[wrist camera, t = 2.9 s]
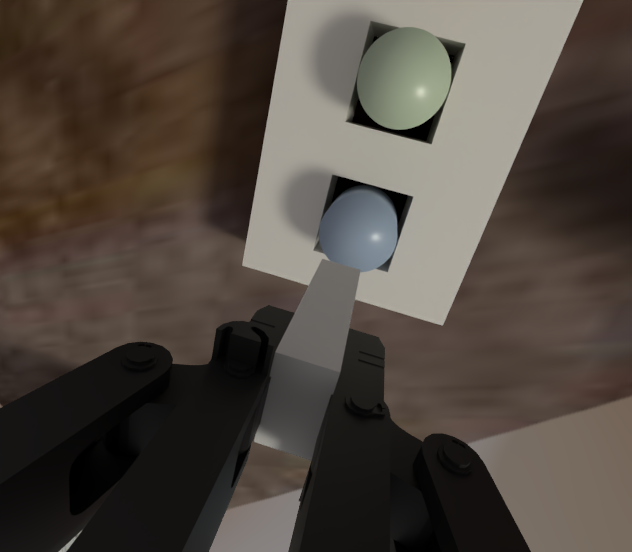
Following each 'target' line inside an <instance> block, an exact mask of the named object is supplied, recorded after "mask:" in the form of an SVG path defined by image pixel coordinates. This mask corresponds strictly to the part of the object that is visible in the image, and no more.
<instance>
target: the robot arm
mask: <svg viewBox="0 0 632 552" xmlns="http://www.w3.org/2000/svg"><path fill="white" fill-rule="evenodd" d="M360 271H361V270H359V269H356V268H353V267H349V266H346V265H342V264H339V263H335V262H332V261H328V260H325V259H322V260H321V262H320V264H319V266H318V268H317V270H316V272H315V274H314V276H313V278H312V280H311V282H310V284H309V286H308V288H307V290H306V292H305V294H304V296H303V298H302V300H301V302H300V304H299V306H298V308H297V310H296V312H295V313H293V312H289V311H286V310H283V309H279V308H276V307H273V306H269V305H268V306H266V307H264V308H262V309H260V310H258V311H257V312H256V313H255V315H254V316H253V317H252V319H251V321H250V322H245V321H232V322H229V323H225V324H222V325H221V326H220V327H218V328H217V329H216V335H215V341H214V348H213V354H212V359H211V361H210V362H209V363H208V364H205V365H181V364H172V361H173V358H172V356H171V354H170V352H169V351H168V350H167V349H165V348H164V347H163V346H160V345H157V344H154V343H148V342H135V343H127V344H125V345H122V346H119V347H117V348H115V349H113V350H111V351H109V352H107V353H105V354H103V355H101V356H99V357H97V358H95V359H94V360H92V361H90V362H88V363H86V364H84V365H82V366H80V367H78V368H76V369H74V370H73V371H71V372H69V373H67V374H65V375H63V376H61V377H59V378H57V379H55V380H53V381H51V382H50V383H48V384H46V385H44V386H42V387H40V388H38V389H36V390H34V391H32V392H30V393H28V394H27V395H25V396H23V397H21V398H19V399H17V400H15V401H13V402H11V403H9V404H7V405H5V406H4V407H2V408H0V552H59V551H60V550H61V549H62V548H63V547H64V546H65V545H66V544H68V543H69V542H70V541H71V540H72V539H73V538H74V537H75V536H76V535H77V534H78V533H79V532H81V533H80V534H79V535H78V537H77V538H76V539H75V541H74V542H73V543H72V545H71V546H70V547H69V549H68V550H67V551H66V552H209V550H210V547H211V545H212V543H213V540H214V538H215V536H216V533H217V531H218V528H219V526H220V524H221V521H222V518H223V517H224V514H225V512H226V509H227V507H228V505H229V502H230V500H231V498H232V495H233V493H234V490H235V488H236V486H237V483H238V481H239V479H240V476H241V474H242V471H243V469H244V467H245V464H246V462H247V460H248V455H249V451H250V447H251V443H252V441H253V439H254V436H255V434H256V436H255V440H254V442H257V443H260V444H263V445H266V446H269V447H272V448H275V449H278V450H281V451H284V452H287V453H290V454H293V455H296V456H299V457H302V458H305V459H308V460H311V465H310V468H309V471H308V474H307V477H306V480H305V483H304V486H303V490H302V493H301V496H300V499H299V501H300V506H299V510H298V514H297V519H296V523H295V527H294V531H293V535H292V539H291V543H290V547H289V552H531V551H530V549H529V547H528V545H527V543H526V542H525V540H524V538H523V536H522V534H521V532H520V530H519V528H518V526H517V525H516V523H515V521H514V519H513V517H512V515H511V513H510V511H509V509H508V508H507V506H506V504H505V502H504V500H503V498H502V496H501V494H500V492H499V490H498V489H497V487H496V485H495V483H494V481H493V479H492V477H491V475H490V473H489V472H488V470H487V468H486V466H485V464H484V462H483V461H482V460H481V459H480V457H479V455H478V454H477V453H476V452H475V451H474V450H473V449H472V448H470V447H469V446H468V445H467V444H466V443H464V442H462V441H461V440H459V439H457V438H455V437H453V436H449V435H446V434H431V435H429V436H428V437H426V438H425V439H424V441H423V442H422V441H421V440H419V439H417V438H415V437H414V436H412V435H410V434H408V433H407V432H405V431H404V430H402V429H401V428H400V427H398V426H397V425H396V424H395V423H394V422H393V421H392V420H391V418H390V412H389V409H388V406H387V405H386V403H385V402H384V359H385V348H384V346H383V344H382V343H381V341H380V339H379V337H376V336H373V335H369V334H366V333H363V332H359V331H356V330H353V329H349V326H350V321H351V316H352V311H353V306H354V301H355V296H356V291H357V286H358V281H359V276H360Z"/></svg>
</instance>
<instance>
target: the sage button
mask: <svg viewBox="0 0 632 552" xmlns="http://www.w3.org/2000/svg"><path fill="white" fill-rule="evenodd" d="M450 83H451V64H450V59H449V56H448V54H447V51H446V49H445V48H444V46H443V45H442V43H441V42H440V41H439V40H438V39H437V38H436V37H435V36H434V35H432V34H431V33H429V32H427V31H425V30H423V29H420V28H415V27H403V28H398V29H394V30H392V31H389V32H387V33H386V34H384V35H382V36H381V37H380V38H378V39H377V40H376V41H375V42H374V43H373V44H372V45H371V46H370V48H369V49H368V50H367V52H366V53H365V55H364V57H363V59H362V61H361V64H360V67H359V71H358V77H357V90H358V96H359V99H360V102H361V104H362V107H363V108H364V110H365V112H366V113H367V114H368V115H369V117H370V118H371V119H373V120H374V121H375V122H376V123H378V124H380V125H382V126H384V127H386V128H390V129H396V130H403V129H409V128H413V127H416V126H419V125H420V124H422V123H424V122H426V121H427V120H429V119H430V118H431V117H432V116H433V115H434V114H435V113H436V112H437V111H438V110H439V108H440V107H441V106H442V104H443V102H444V100H445V99H446V96H447V94H448V91H449V88H450Z"/></svg>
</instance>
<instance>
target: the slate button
mask: <svg viewBox="0 0 632 552" xmlns="http://www.w3.org/2000/svg"><path fill="white" fill-rule="evenodd" d="M319 241H320V245H321V248H322V250H323V252H324V254H325V255H326V257H327V258H328V259H329V260H330V261H332V262H335V263H339V264H342V265H346V266H349V267H353V268H356V269H359V270H361V271H360V272H367V271H371V270H374V269H376V268H378V267H380V266H381V265H382V264H384V263H385V262H386V261H387V260H388V259H389V258H390V256H391V255H392V253H393V252H394V249H395V247H396V243H397V213H396V209H395V206H394V204H393V202H392V200H391V199H390V198H389V196H388V195H387V194H386V193H384V192H383V191H382V190H380V189H378V188H376V187H373V186H368V185H359V186H354V187H351V188H349V189H347V190H345V191H344V192H342V193H341V194H340V195H339V196H338V197H337V198H336V199H335V201H334V202H333V203H332V205H331V206H330V207H329V209H328V210H327V211H326V213H325V214H324V216H323V218H322V220H321V223H320V227H319Z"/></svg>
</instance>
